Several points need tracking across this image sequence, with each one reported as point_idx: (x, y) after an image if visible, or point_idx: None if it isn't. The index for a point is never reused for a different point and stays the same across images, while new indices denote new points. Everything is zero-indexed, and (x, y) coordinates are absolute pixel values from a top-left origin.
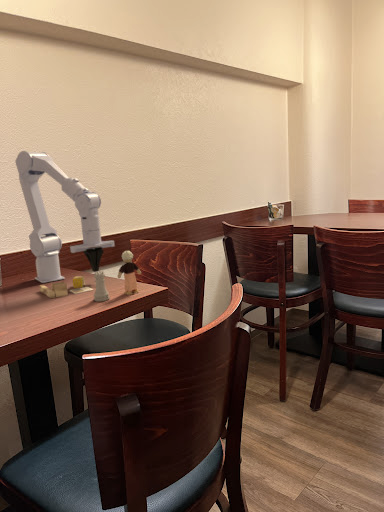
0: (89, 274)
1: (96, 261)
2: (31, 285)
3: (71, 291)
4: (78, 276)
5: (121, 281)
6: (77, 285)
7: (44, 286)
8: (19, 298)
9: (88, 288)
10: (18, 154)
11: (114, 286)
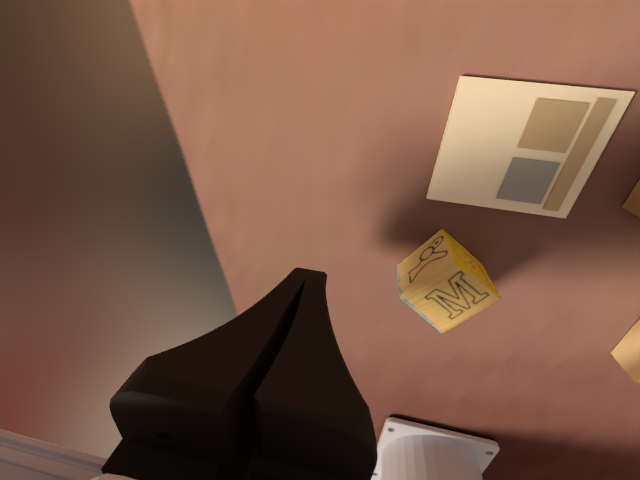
0: None
1: (283, 323)
2: (546, 453)
3: (590, 173)
4: (428, 318)
5: (202, 133)
6: (466, 254)
7: None
8: None
9: (461, 142)
10: None
11: (296, 34)
